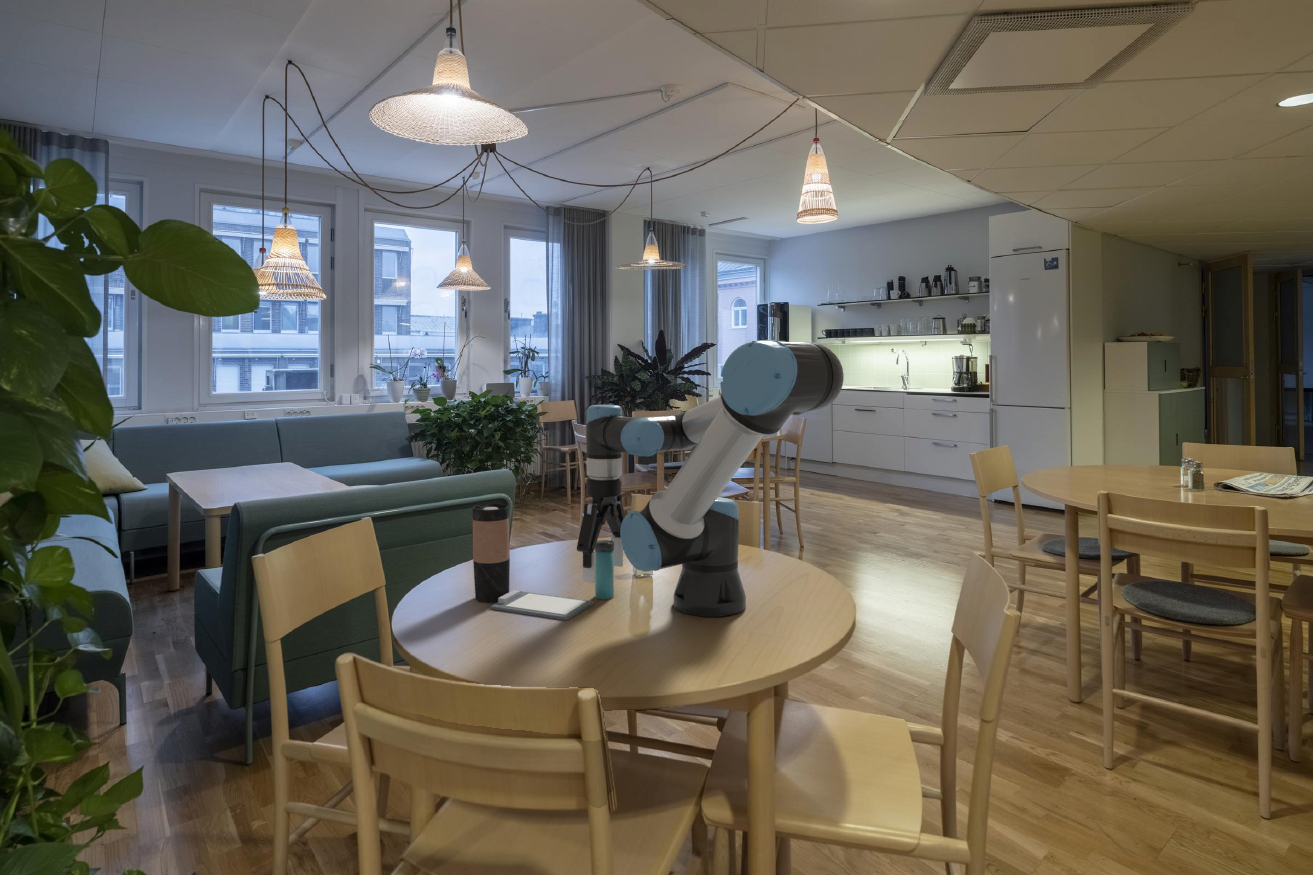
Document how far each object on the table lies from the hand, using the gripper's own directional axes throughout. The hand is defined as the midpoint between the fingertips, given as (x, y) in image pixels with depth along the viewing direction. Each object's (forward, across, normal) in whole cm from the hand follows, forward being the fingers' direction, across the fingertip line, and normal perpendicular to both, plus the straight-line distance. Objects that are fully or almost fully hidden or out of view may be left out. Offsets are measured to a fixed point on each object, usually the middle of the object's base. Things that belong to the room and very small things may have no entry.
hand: (603, 573), depth 159 cm
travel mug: (+5, +10, -22) cm, 24 cm away
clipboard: (+5, +11, -9) cm, 15 cm away
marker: (+5, 0, 0) cm, 5 cm away
